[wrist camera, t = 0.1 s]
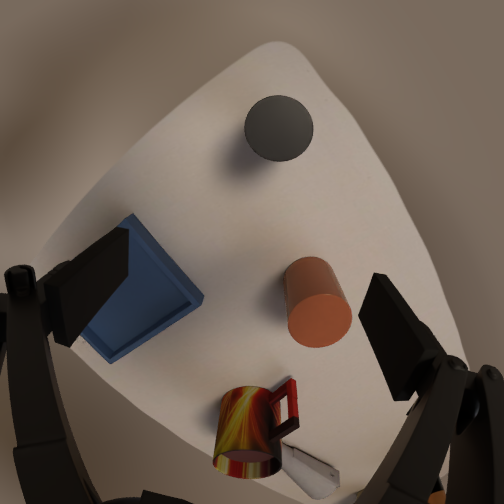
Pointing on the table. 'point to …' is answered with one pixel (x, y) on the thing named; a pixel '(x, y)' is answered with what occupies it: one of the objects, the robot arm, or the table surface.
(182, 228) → the table surface
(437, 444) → the robot arm
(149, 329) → the blue tray
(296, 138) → the blue canister
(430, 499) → the battery
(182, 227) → the table surface
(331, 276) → the terracotta canister
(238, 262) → the table surface
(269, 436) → the mug
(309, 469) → the white cone
